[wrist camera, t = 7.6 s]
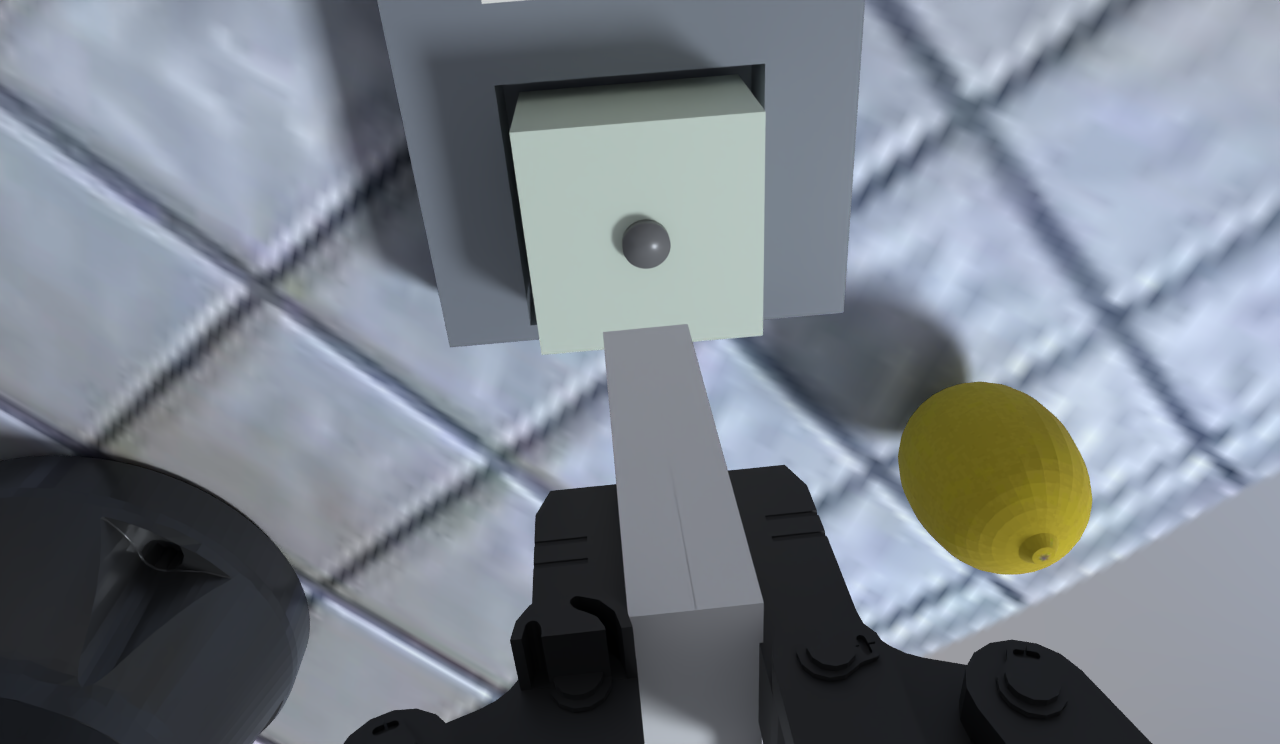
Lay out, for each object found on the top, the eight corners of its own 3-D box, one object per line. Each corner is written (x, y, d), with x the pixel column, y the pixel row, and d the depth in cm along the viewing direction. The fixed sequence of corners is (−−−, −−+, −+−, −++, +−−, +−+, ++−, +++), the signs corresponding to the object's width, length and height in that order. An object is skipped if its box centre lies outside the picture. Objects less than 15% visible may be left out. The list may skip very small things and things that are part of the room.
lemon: (842, 434, 32) (913, 590, 25) (934, 317, 30) (1040, 456, 23) (954, 484, 34) (1049, 643, 27) (1050, 378, 31) (1181, 524, 24)
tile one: (546, 290, 26) (541, 360, 23) (519, 91, 23) (508, 136, 19) (738, 273, 26) (765, 340, 23) (737, 74, 23) (768, 114, 20)
